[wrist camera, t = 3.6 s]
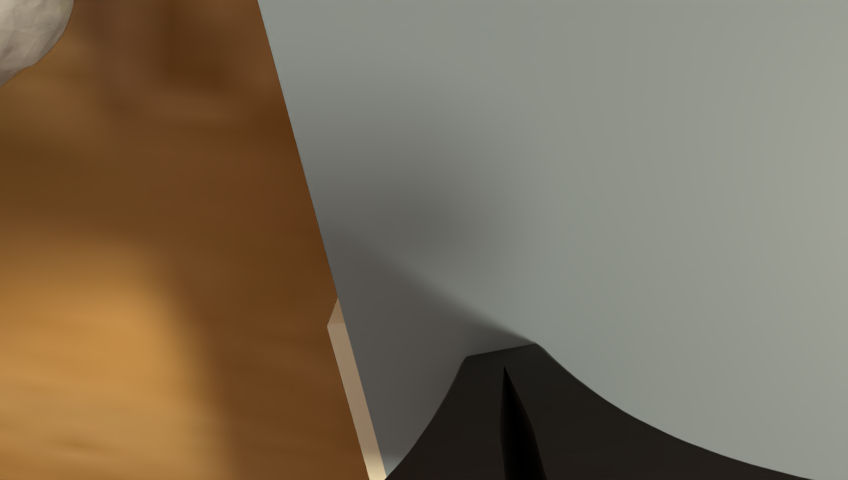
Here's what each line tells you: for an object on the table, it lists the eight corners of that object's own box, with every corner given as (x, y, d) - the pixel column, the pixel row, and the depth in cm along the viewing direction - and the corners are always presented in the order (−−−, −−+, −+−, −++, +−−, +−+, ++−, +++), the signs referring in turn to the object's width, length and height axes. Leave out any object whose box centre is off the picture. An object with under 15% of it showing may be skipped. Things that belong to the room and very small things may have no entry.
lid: (881, 537, 16) (996, 660, 12) (441, 612, 16) (444, 747, 13) (858, -132, 12) (1018, -202, 9) (282, 3, 12) (231, -14, 9)
